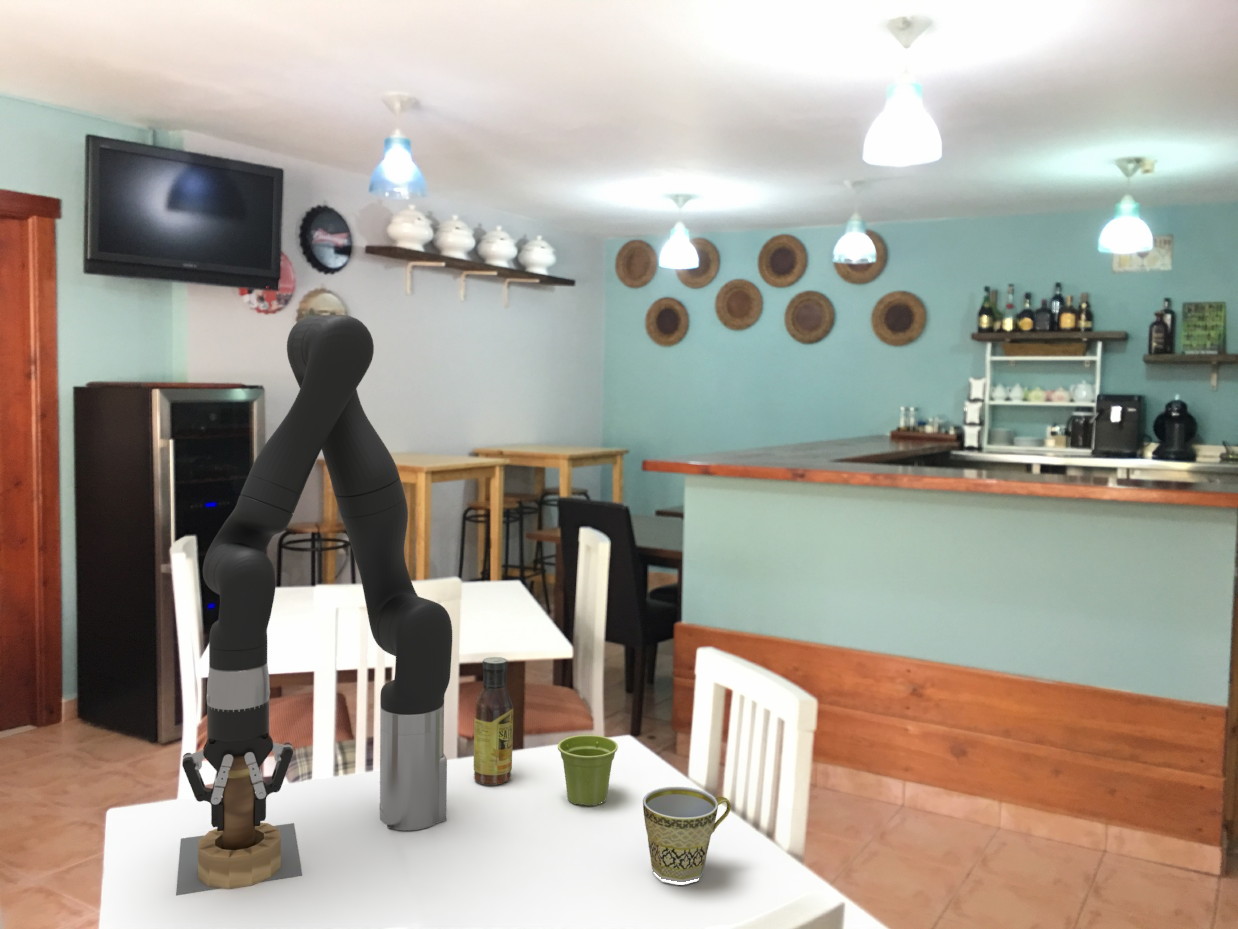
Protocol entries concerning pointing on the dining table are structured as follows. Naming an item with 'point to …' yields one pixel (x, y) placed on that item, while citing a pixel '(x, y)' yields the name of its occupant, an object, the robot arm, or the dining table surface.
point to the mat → (191, 884)
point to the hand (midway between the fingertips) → (238, 825)
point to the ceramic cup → (680, 830)
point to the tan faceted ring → (239, 859)
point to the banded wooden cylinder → (238, 807)
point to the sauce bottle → (493, 725)
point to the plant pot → (587, 767)
